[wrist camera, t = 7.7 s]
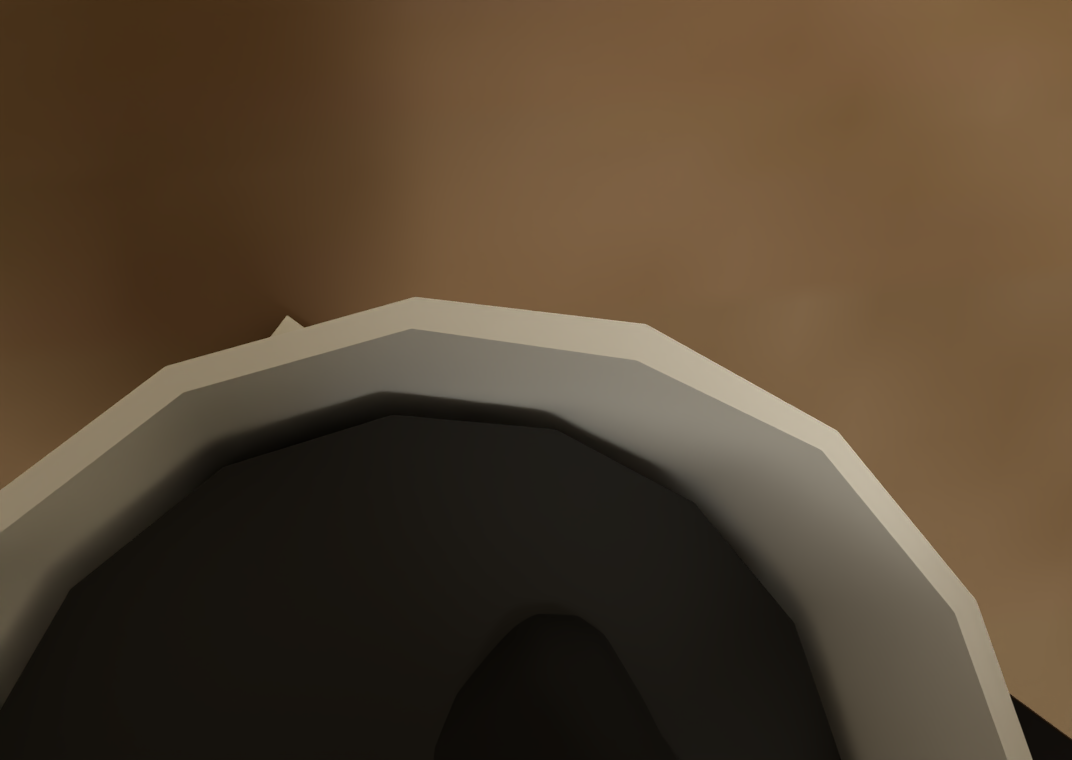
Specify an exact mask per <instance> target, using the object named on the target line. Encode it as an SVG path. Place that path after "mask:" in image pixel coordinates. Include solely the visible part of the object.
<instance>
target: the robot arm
mask: <svg viewBox="0 0 1072 760" xmlns="http://www.w3.org/2000/svg"><path fill="white" fill-rule="evenodd" d="M1010 697H1011V700H1012V703H1013V706H1014V709H1015V711H1016V714H1017V717H1018V720H1019V723H1020V726H1021V728H1022V731H1023V734H1024V737H1025V740H1026V742H1027V745H1028V748H1029V751H1030V754H1031V757H1032V759H1033V760H1072V739H1071V738H1069V737H1068V736H1067V735H1065V734H1064V733H1063V732H1061V731H1060V730H1059V729H1057V728H1056V727H1054V726H1053V725H1052V724H1050V723H1049V722H1048V721H1046V720H1045V719H1044V718H1042V717H1041V716H1039V715H1038V714H1037V713H1035V712H1034V711H1033V710H1031V709H1030V708H1029V707H1027V706H1026V705H1024V704H1023V703H1022V702H1020V701H1019V700H1018V699H1016V698H1015V697H1014V696H1012V695H1011V694H1010Z"/></svg>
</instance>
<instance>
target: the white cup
mask: <svg viewBox="0 0 1072 760" xmlns="http://www.w3.org/2000/svg"><path fill="white" fill-rule="evenodd" d="M0 760H1033V759H1032V757H1031V754H1030V751H1029V748H1028V745H1027V742H1026V740H1025V737H1024V734H1023V731H1022V728H1021V726H1020V723H1019V720H1018V717H1017V714H1016V711H1015V709H1014V706H1013V703H1012V700H1011V697H1010V694H1009V692H1008V689H1007V686H1006V683H1005V680H1004V677H1003V675H1002V672H1001V669H1000V666H999V663H998V660H997V658H996V655H995V652H994V649H993V646H992V644H991V641H990V638H989V635H988V632H987V629H986V627H985V624H984V621H983V618H982V615H981V612H980V610H979V607H978V604H977V601H976V599H975V598H974V597H973V596H972V595H971V593H970V592H969V591H968V590H967V588H966V587H965V586H964V585H963V584H962V582H961V581H960V580H959V579H958V577H957V576H956V575H955V574H954V573H953V571H952V570H951V569H950V568H949V567H948V565H947V564H946V563H945V562H944V560H943V559H942V558H941V557H940V556H939V554H938V553H937V552H936V551H935V549H934V548H933V547H932V546H931V545H930V543H929V542H928V541H927V540H926V538H925V537H924V536H923V535H922V534H921V532H920V531H919V530H918V529H917V527H916V526H915V525H914V524H913V523H912V521H911V520H910V519H909V518H908V516H907V515H906V514H905V513H904V512H903V510H902V509H901V508H900V507H899V505H898V504H897V503H896V502H895V501H894V499H893V498H892V497H891V496H890V495H889V493H888V492H887V491H886V490H885V488H884V487H883V486H882V485H881V484H880V482H879V481H878V480H877V479H876V477H875V476H874V475H873V474H872V473H871V471H870V470H869V469H868V468H867V466H866V465H865V464H864V463H863V462H862V460H861V459H860V458H859V457H858V455H857V454H856V453H855V452H854V451H853V449H852V448H851V447H850V446H849V444H848V443H847V442H846V441H845V440H844V438H843V437H842V436H841V435H840V433H839V432H838V431H837V430H835V429H833V428H831V427H829V426H828V425H826V424H824V423H822V422H820V421H819V420H817V419H815V418H813V417H811V416H810V415H808V414H806V413H804V412H802V411H801V410H799V409H797V408H795V407H794V406H792V405H790V404H788V403H786V402H785V401H783V400H781V399H779V398H777V397H776V396H774V395H772V394H770V393H768V392H767V391H765V390H763V389H761V388H759V387H758V386H756V385H754V384H752V383H751V382H749V381H747V380H745V379H743V378H742V377H740V376H738V375H736V374H734V373H733V372H731V371H729V370H727V369H725V368H724V367H722V366H720V365H718V364H716V363H715V362H713V361H711V360H709V359H708V358H706V357H704V356H702V355H700V354H699V353H697V352H695V351H693V350H691V349H690V348H688V347H686V346H684V345H682V344H681V343H679V342H677V341H675V340H674V339H672V338H670V337H668V336H666V335H665V334H663V333H661V332H659V331H657V330H656V329H654V328H652V327H650V326H648V325H647V324H640V323H632V322H623V321H615V320H606V319H598V318H589V317H581V316H572V315H564V314H556V313H547V312H539V311H530V310H522V309H513V308H505V307H496V306H488V305H479V304H471V303H462V302H454V301H445V300H437V299H429V298H420V297H413V298H409V299H406V300H402V301H399V302H395V303H391V304H388V305H384V306H381V307H377V308H373V309H370V310H366V311H363V312H359V313H355V314H352V315H348V316H345V317H341V318H337V319H334V320H330V321H326V322H323V323H319V324H316V325H312V326H308V327H305V328H301V329H298V330H294V331H290V332H287V333H283V334H280V335H276V336H272V337H269V338H265V339H262V340H258V341H254V342H251V343H247V344H244V345H240V346H236V347H233V348H229V349H226V350H222V351H218V352H215V353H211V354H208V355H204V356H200V357H197V358H193V359H190V360H186V361H182V362H179V363H175V364H171V365H168V366H165V367H164V368H162V369H161V370H160V371H158V372H157V373H156V374H154V375H153V376H152V377H150V378H149V379H148V380H146V381H145V382H144V383H142V384H141V385H140V386H138V387H137V388H136V389H134V390H133V391H132V392H130V393H129V394H128V395H126V396H125V397H124V398H122V399H121V400H120V401H118V402H117V403H116V404H114V405H113V406H112V407H110V408H109V409H108V410H107V411H105V412H104V413H103V414H101V415H100V416H99V417H97V418H96V419H95V420H93V421H92V422H91V423H89V424H88V425H87V426H85V427H84V428H83V429H81V430H80V431H79V432H77V433H76V434H75V435H73V436H72V437H71V438H69V439H68V440H67V441H65V442H64V443H63V444H61V445H60V446H59V447H57V448H56V449H55V450H53V451H52V452H51V453H49V454H48V455H47V456H45V457H44V458H43V459H41V460H40V461H39V462H37V463H36V464H35V465H33V466H32V467H31V468H29V469H28V470H27V471H25V472H24V473H23V474H21V475H20V476H19V477H17V478H16V479H15V480H13V481H12V482H11V483H9V484H8V485H7V486H5V487H4V488H3V489H1V490H0Z"/></svg>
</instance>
